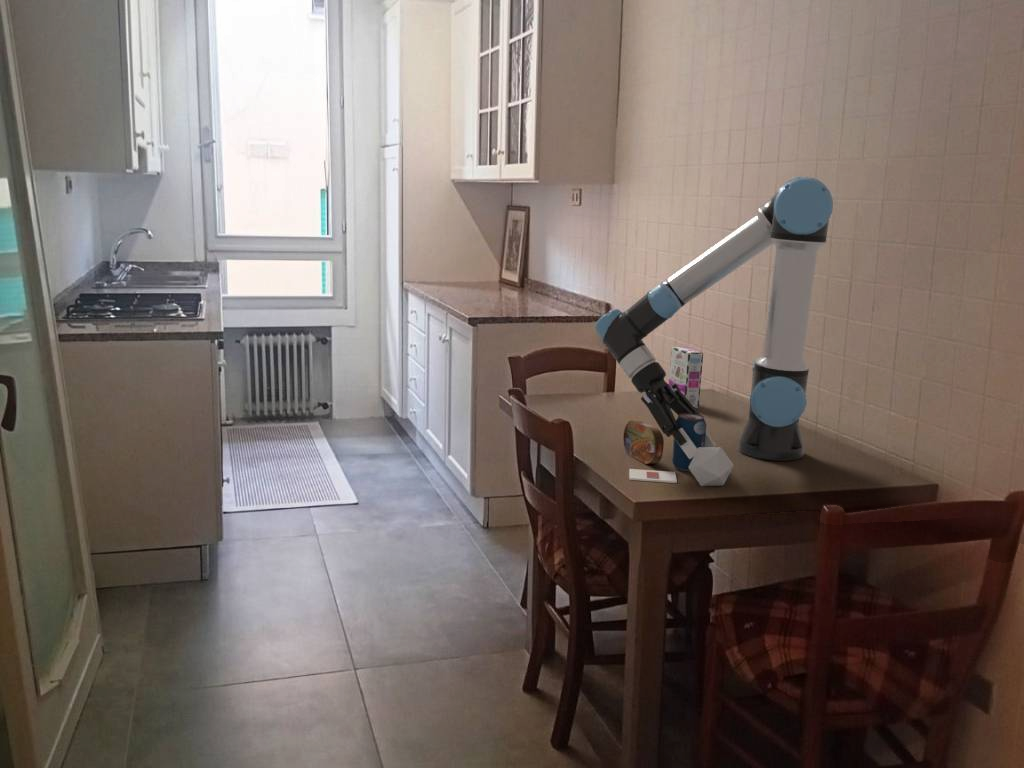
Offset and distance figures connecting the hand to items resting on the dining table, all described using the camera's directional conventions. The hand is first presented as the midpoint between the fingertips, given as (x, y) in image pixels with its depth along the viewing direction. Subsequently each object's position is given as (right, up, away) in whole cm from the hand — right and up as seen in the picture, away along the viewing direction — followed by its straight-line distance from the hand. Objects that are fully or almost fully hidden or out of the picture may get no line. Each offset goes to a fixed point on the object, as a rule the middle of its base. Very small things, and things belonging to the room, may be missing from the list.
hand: (702, 451), depth 213 cm
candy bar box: (+8, +9, +67) cm, 68 cm away
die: (0, -6, -8) cm, 10 cm away
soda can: (-3, -4, +3) cm, 6 cm away
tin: (-12, -3, +8) cm, 15 cm away
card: (-12, -5, -5) cm, 14 cm away
